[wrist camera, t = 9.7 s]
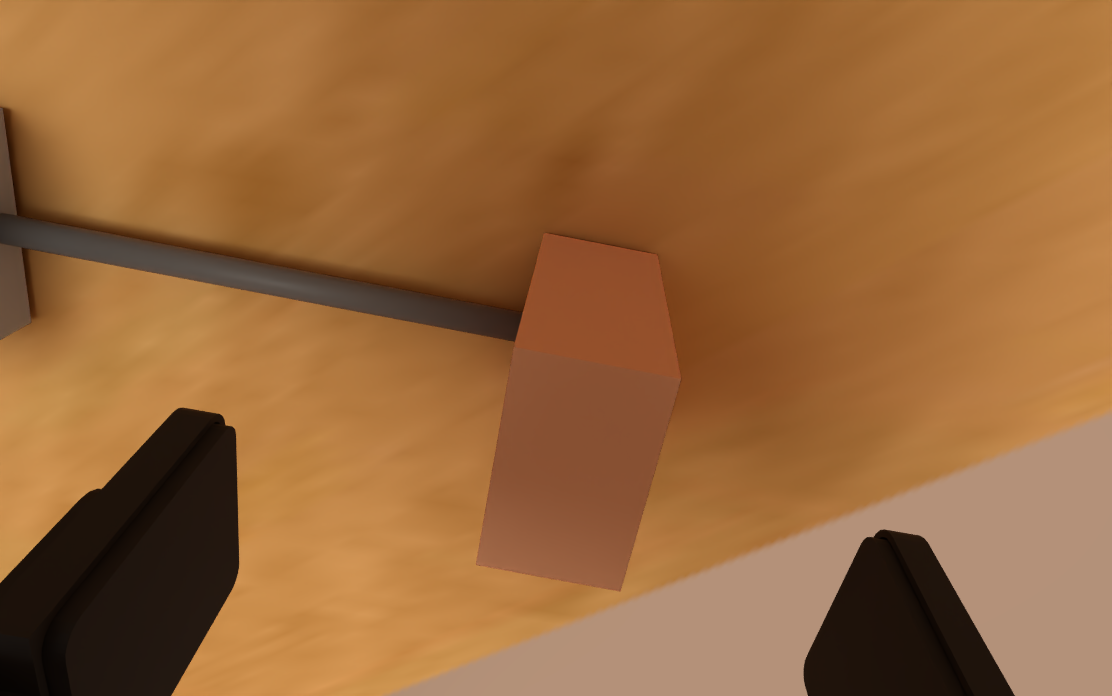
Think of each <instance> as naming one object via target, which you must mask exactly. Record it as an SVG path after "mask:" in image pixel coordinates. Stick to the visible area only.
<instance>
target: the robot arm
mask: <svg viewBox="0 0 1112 696" xmlns="http://www.w3.org/2000/svg"><path fill="white" fill-rule="evenodd" d="M238 569H239V537H238V497H237V456H236V432H235V429H234V428H233V427H232V426H226V425H225V420H224V418H223V416H222V415H220V414H216V413H210V412H205V411H199V410H193V409H187V408H178V409H177V410H175V411H174V412H173V413H172V414H171V415H170V416H169V417H168V418H167V419H166V421H165V422H164V423H163V424H162V425H161V426H160V427H159V428H158V429H157V430H156V431H155V432H154V433H153V434H152V436H151V437H150V438H149V439H148V440H147V441H146V442H145V443H144V444H143V445H142V446H141V447H140V448H139V450H138V451H137V452H136V453H135V454H134V455H133V456H132V457H131V458H130V459H129V460H128V461H127V462H126V464H125V465H124V466H123V467H122V468H121V469H120V470H119V471H118V472H117V473H116V474H115V475H114V476H113V478H112V479H111V480H110V481H109V482H108V483H107V484H106V485H105V486H104V487H103V488H102V489H95V490H93V491H90V492H88V493H87V494H86V495H85V496H83V497H82V498H81V499H80V500H79V501H78V502H77V503H76V504H75V505H74V506H73V507H72V508H71V509H70V510H69V511H68V513H67V514H66V515H65V516H64V517H63V518H62V519H61V520H60V521H59V522H58V523H57V524H56V525H55V526H54V527H53V528H52V529H51V530H50V531H49V532H48V534H47V535H46V536H45V537H44V538H43V539H42V540H41V541H40V542H39V543H38V544H37V545H36V546H35V547H34V548H33V549H32V550H31V551H30V552H29V553H28V555H27V556H26V557H25V558H24V559H23V560H22V561H21V562H20V563H19V564H18V565H17V566H16V567H15V568H14V569H13V570H12V571H11V572H10V573H9V574H8V576H7V577H6V578H5V579H4V580H3V581H2V582H1V583H0V696H171V695H172V693H173V691H174V690H175V688H176V686H177V684H178V683H179V681H180V679H181V677H182V676H183V674H184V672H185V670H186V669H187V667H188V665H189V664H190V662H191V660H192V658H193V657H194V655H195V653H196V651H197V650H198V648H199V646H200V644H201V643H202V641H203V639H204V637H205V636H206V634H207V632H208V631H209V629H210V627H211V625H212V624H213V622H214V620H215V618H216V617H217V615H218V613H219V611H220V610H221V608H222V606H223V604H224V603H225V601H226V599H227V597H228V596H229V594H230V592H231V590H232V588H233V586H234V584H235V581H236V578H237V574H238ZM804 682H805V687H806V690H807V694H808V696H1015V695H1014V694H1013V692H1012V690H1011V688H1010V686H1009V685H1008V683H1007V681H1006V680H1005V678H1004V676H1003V674H1002V672H1001V671H1000V669H999V667H998V665H997V664H996V662H995V660H994V659H993V657H992V655H991V653H990V651H989V650H988V648H987V646H986V644H985V642H984V641H983V639H982V637H981V635H980V634H979V632H978V630H977V628H976V627H975V625H974V623H973V621H972V620H971V618H970V616H969V614H968V613H967V611H966V609H965V607H964V606H963V604H962V602H961V600H960V598H959V597H958V595H957V593H956V591H955V590H954V588H953V586H952V584H951V583H950V581H949V579H948V577H947V576H946V574H945V572H944V570H943V568H942V567H941V565H940V563H939V561H938V560H937V558H936V556H935V554H934V553H933V551H932V549H931V548H930V546H929V544H928V542H927V541H926V540H925V539H924V538H923V537H921V536H919V535H913V534H907V533H901V532H895V531H890V530H880V531H879V532H877V533H876V534H875V536H874V537H867V538H866V539H864V540H863V542H862V543H861V545H860V547H859V549H858V552H857V553H856V556H855V558H854V560H853V562H852V564H851V566H850V568H849V570H848V572H847V574H846V576H845V579H844V580H843V583H842V585H841V587H840V589H839V591H838V593H837V595H836V597H835V599H834V601H833V603H832V605H831V607H830V610H829V611H828V613H827V616H826V618H825V620H824V622H823V624H822V626H821V628H820V630H819V632H818V634H817V636H816V638H815V640H814V642H813V644H812V647H811V649H810V651H809V653H808V655H807V657H806V660H805V664H804Z"/></svg>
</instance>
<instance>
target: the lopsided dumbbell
mask: <svg viewBox="0 0 1112 696" xmlns="http://www.w3.org/2000/svg"><path fill="white" fill-rule="evenodd" d="M21 248H26V249H32V250H37V251H42V252H47V253H53V254H58V255H63V256H68V257H74V258H79V259H84V260H89V261H95V262H100V263H105V264H110V265H115V266H121V267H126V268H131V269H136V270H142V271H147V272H152V273H157V274H163V275H168V276H173V277H178V278H184V279H189V280H194V281H199V282H205V283H210V284H215V285H220V286H226V287H231V288H236V289H241V290H247V291H252V292H257V293H262V294H268V295H273V296H278V297H283V298H289V299H294V300H299V301H304V302H310V303H315V304H320V305H325V306H331V307H336V308H341V309H346V310H352V311H357V312H362V313H367V314H373V315H378V316H383V317H388V318H394V319H399V320H404V321H409V322H415V323H420V324H425V325H430V326H436V327H441V328H446V329H451V330H457V331H462V332H467V333H472V334H478V335H483V336H488V337H493V338H499V339H504V340H509V341H514V342H515V344H514V348H513V354H512V359H511V365H510V371H509V377H508V383H507V388H506V394H505V400H504V406H503V411H502V417H501V423H500V429H499V434H498V440H497V446H496V452H495V457H494V463H493V469H492V475H491V481H490V486H489V492H488V498H487V504H486V509H485V515H484V521H483V527H482V532H481V538H480V544H479V550H478V556H477V561H476V565H479V566H485V567H490V568H496V569H501V570H507V571H512V572H517V573H523V574H528V575H534V576H539V577H545V578H550V579H555V580H561V581H566V582H572V583H577V584H583V585H588V586H593V587H599V588H604V589H610V590H615V591H621V588H622V584H623V581H624V577H625V574H626V570H627V567H628V563H629V560H630V556H631V553H632V549H633V546H634V542H635V539H636V535H637V532H638V528H639V525H640V522H641V518H642V515H643V511H644V508H645V504H646V501H647V497H648V494H649V490H650V487H651V483H652V480H653V476H654V473H655V469H656V466H657V462H658V459H659V455H660V452H661V448H662V445H663V441H664V438H665V434H666V431H667V427H668V424H669V421H670V417H671V414H672V410H673V407H674V403H675V400H676V396H677V393H678V389H679V386H680V382H681V374H680V369H679V364H678V359H677V353H676V348H675V343H674V338H673V332H672V327H671V322H670V317H669V312H668V306H667V301H666V296H665V291H664V286H663V280H662V275H661V270H660V265H659V260H658V255H657V254H652V253H646V252H641V251H636V250H631V249H626V248H621V247H615V246H610V245H605V244H600V243H595V242H590V241H585V240H579V239H574V238H569V237H564V236H559V235H554V234H548V233H544V235H543V239H542V243H541V246H540V250H539V254H538V258H537V261H536V265H535V269H534V273H533V276H532V280H531V284H530V288H529V291H528V295H527V299H526V303H525V306H524V310H523V312H517V311H512V310H507V309H502V308H497V307H491V306H486V305H481V304H476V303H470V302H465V301H460V300H455V299H450V298H444V297H439V296H434V295H429V294H423V293H418V292H413V291H408V290H403V289H397V288H392V287H387V286H382V285H376V284H371V283H366V282H361V281H355V280H350V279H345V278H340V277H335V276H329V275H324V274H319V273H314V272H308V271H303V270H298V269H293V268H288V267H282V266H277V265H272V264H267V263H261V262H256V261H251V260H246V259H241V258H235V257H230V256H225V255H220V254H214V253H209V252H204V251H199V250H194V249H188V248H183V247H178V246H173V245H167V244H162V243H157V242H152V241H147V240H141V239H136V238H131V237H126V236H120V235H115V234H110V233H105V232H100V231H94V230H89V229H84V228H79V227H73V226H68V225H63V224H58V223H53V222H47V221H42V220H37V219H32V218H26V217H21V216H17V212H16V204H15V197H14V189H13V182H12V174H11V167H10V159H9V152H8V145H7V137H6V130H5V122H4V115H3V108H0V340H1V339H3V338H5V337H6V336H8V335H10V334H12V333H13V332H15V331H17V330H19V329H20V328H22V327H24V326H26V325H28V324H29V323H31V316H30V308H29V301H28V293H27V286H26V279H25V271H24V264H23V256H22V249H21Z"/></svg>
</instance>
